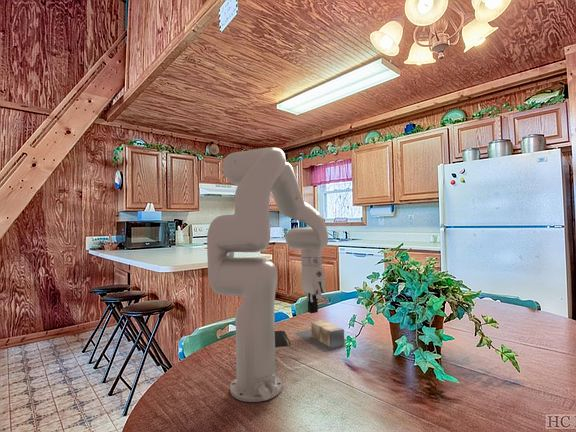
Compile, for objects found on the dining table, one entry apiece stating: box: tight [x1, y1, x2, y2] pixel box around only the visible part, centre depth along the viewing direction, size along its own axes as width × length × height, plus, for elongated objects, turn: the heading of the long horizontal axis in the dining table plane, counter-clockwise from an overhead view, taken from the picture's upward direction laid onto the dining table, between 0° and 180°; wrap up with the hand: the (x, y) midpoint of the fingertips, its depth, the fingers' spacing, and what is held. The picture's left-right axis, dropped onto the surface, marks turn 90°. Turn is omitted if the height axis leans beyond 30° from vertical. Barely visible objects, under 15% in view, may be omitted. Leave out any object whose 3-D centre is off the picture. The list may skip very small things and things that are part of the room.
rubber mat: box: [294, 329, 347, 353], centre depth 108 cm, size 20×12×1 cm, turn 27°
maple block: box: [310, 319, 345, 348], centre depth 106 cm, size 5×5×12 cm
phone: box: [275, 330, 292, 348], centre depth 109 cm, size 8×1×15 cm
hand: (313, 312), depth 114 cm, fingers closed
